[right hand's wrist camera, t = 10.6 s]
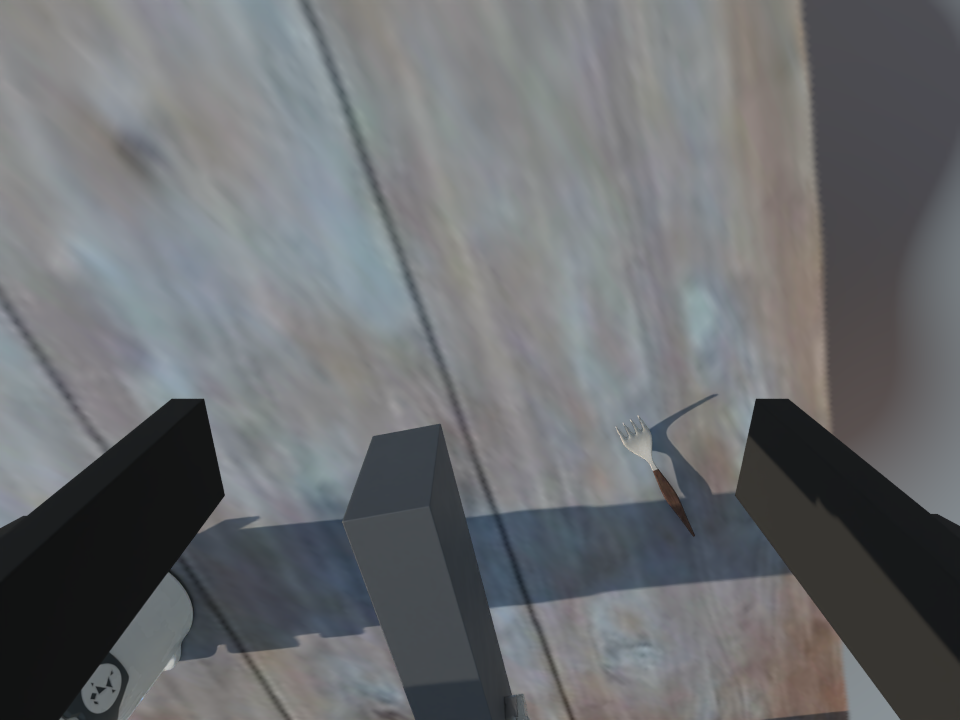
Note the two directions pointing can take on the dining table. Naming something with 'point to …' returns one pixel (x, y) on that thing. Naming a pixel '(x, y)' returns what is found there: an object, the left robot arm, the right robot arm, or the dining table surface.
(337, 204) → the dining table surface
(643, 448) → the fork
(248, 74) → the dining table surface
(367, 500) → the bar
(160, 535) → the right robot arm
